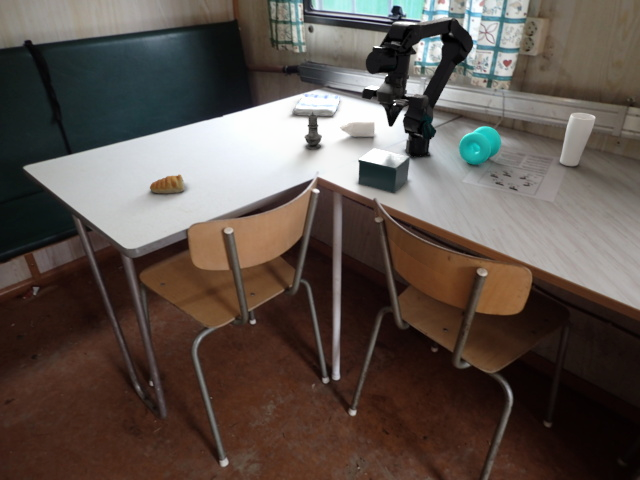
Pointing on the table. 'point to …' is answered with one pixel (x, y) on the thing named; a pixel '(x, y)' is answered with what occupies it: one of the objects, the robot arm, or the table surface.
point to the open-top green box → (383, 177)
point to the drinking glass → (576, 137)
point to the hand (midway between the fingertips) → (390, 126)
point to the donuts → (480, 145)
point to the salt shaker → (313, 134)
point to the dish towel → (317, 105)
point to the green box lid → (384, 159)
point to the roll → (359, 128)
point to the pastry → (168, 185)
